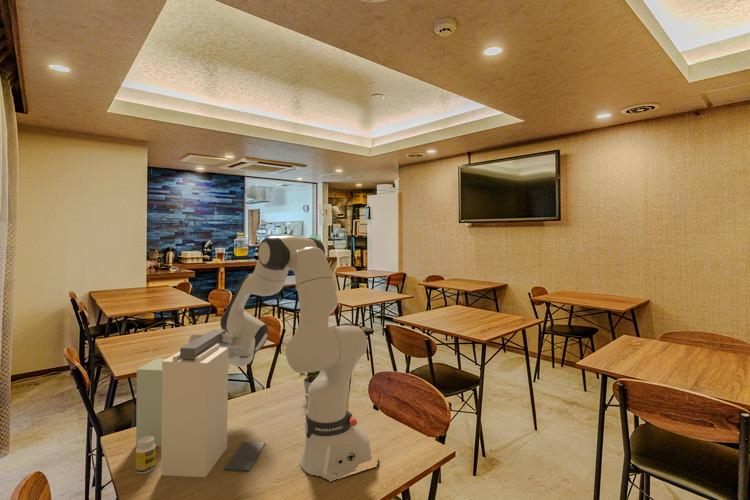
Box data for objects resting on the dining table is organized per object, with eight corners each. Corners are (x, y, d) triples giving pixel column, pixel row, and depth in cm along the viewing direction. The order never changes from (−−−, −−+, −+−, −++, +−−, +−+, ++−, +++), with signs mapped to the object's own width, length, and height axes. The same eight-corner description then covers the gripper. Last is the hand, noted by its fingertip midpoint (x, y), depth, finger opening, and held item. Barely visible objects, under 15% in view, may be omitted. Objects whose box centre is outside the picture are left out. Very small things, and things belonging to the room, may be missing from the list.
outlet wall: (188, 445, 117) (190, 341, 115) (227, 447, 116) (229, 343, 115) (161, 475, 102) (162, 356, 101) (205, 477, 102) (207, 358, 101)
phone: (242, 444, 119) (242, 441, 119) (264, 445, 119) (265, 442, 119) (223, 472, 105) (223, 468, 105) (248, 473, 105) (248, 470, 105)
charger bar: (213, 338, 122) (213, 329, 122) (225, 339, 122) (225, 329, 122) (180, 359, 102) (180, 348, 102) (195, 359, 102) (195, 348, 102)
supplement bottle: (146, 475, 102) (146, 445, 101) (130, 473, 103) (131, 442, 102) (159, 465, 107) (159, 435, 106) (145, 462, 107) (145, 433, 107)
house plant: (303, 406, 145) (304, 364, 145) (286, 394, 156) (287, 354, 155) (334, 397, 155) (335, 357, 154) (316, 386, 165) (317, 348, 164)
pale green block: (155, 428, 126) (156, 358, 125) (179, 429, 126) (180, 359, 125) (136, 445, 116) (136, 369, 115) (162, 446, 116) (162, 370, 115)
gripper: (201, 336, 132) (183, 325, 120) (260, 338, 131) (248, 327, 119) (196, 355, 129) (177, 345, 117) (256, 357, 128) (244, 347, 116)
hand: (213, 336), depth 118 cm, fingers closed on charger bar, 4 cm apart
